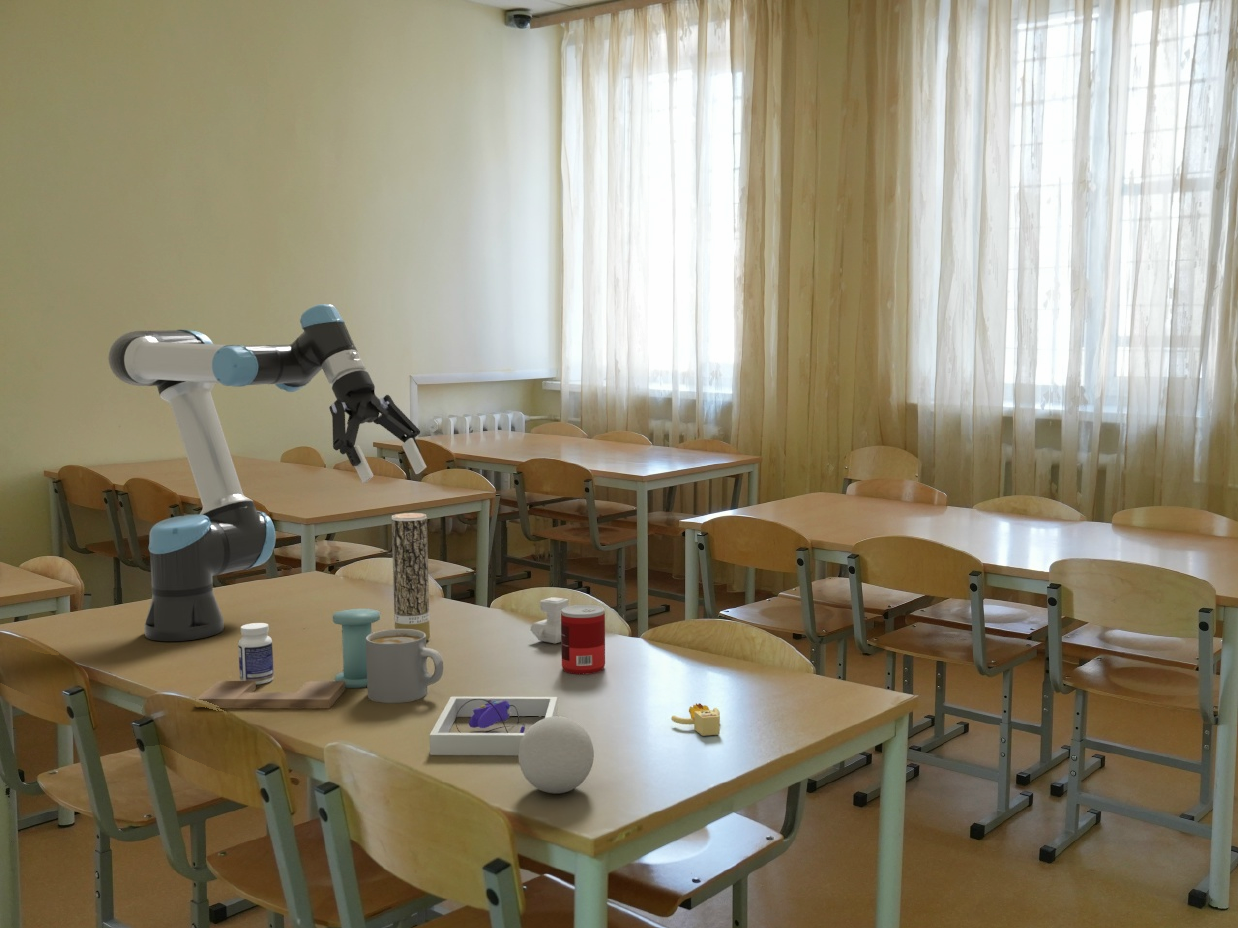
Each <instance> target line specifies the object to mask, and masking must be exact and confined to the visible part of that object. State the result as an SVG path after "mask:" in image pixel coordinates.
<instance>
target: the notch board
mask: <svg viewBox="0 0 1238 928" xmlns="http://www.w3.org/2000/svg"><path fill="white" fill-rule="evenodd" d="M256 686H257V685H256V681H240V680H217V681H216V682H215V683H214V684H212V685H211V686H210V687H209V688H208V689H206V690H205V691H203V692H202V693H201V694H199V696H197V697H196V698H195V700H196V699H199V700H203V701H207V702H209V703H212V704H214V705H217V706H219V707H221V708H220V709H330V708H331V707H333V705H334V704H335V702H336V701H337V700H338V699H339V698H340V697H341V696H342V694H343V693H344V692H345V691H346V688H345V681H335V680H307V681H306V682H305V683H304V684H303V685H302V686H301V687H300V688H299V689H298V690H297V691H296V692H255V691H256V688H257V687H256Z"/></svg>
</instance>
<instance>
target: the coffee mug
mask: <svg viewBox="0 0 1238 928" xmlns="http://www.w3.org/2000/svg"><path fill="white" fill-rule="evenodd" d="M366 658H367V698H368V699H369V700H371V701H373V702H377V703H383V704H399V703H400V704H401V703H408V702H413V701H417V700H420V699H422V698H424V697H425V696H426V695H427V694H428V686H431V685H433V684H436V683H437V682H439V681H440V680H441V678H442V676H443V673H444V661H443V657H442V655H441V654H440V652H439V651H438V650H435V648H434V649H433V648H431V647H428V648H427V641H426V634H425V633H424V632H422V631H418V630H413V629H395V628H392V629H390V628H389V629H383V630H379V631H374V632H372V634H370V635H368V636H367V637H366ZM428 658H430V659H431V660H432V662H433V666H434V672H433V674H430V673H429V670H428V667H427V665H428V664H427V661H428Z"/></svg>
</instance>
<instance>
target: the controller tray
mask: <svg viewBox="0 0 1238 928" xmlns="http://www.w3.org/2000/svg"><path fill="white" fill-rule="evenodd" d="M490 698H492V700H491V702H492V701H501V700H504V701H505V700H506V701H508V703H509V705H514V706H515V707H516V708H515V707H514V706H510V708H511V709H510V710H511V714H509V716H518V715H519V716H545V717H544V718H547V717H553V716H557V715H558V713H559V712H558V697H557V696H450V698H448V699H449V700H448V701H447V702H446V705H445V706H444V708H443V710H442V712H441V714H440V715H439V717H438V720H437V721H436V723H435V725H434V726H433V729H431V732H430V733H429V755H430V756H519V747H520V743H521V740H522V738H523V736H524V734H525V733H526V732H524V733H520V732H508V733H507V732H486V733H483V732H461V733H460V732H450V731H451V729H452V727H453V725H454V723H455V722H456V720H457V718H460V717H461V718H471V717H472V716H473V715H474V712H473V710H474V709H476V708H478V707H481V706H483V705H485V704H486V703H488V702H487V701H484V700H487V699H490ZM473 699H478V700H473ZM479 699H484V700H479ZM470 700H472V701H470ZM468 701H470V702H468ZM466 702H468V703H466ZM465 703H466V704H465ZM464 704H465V705H464ZM463 705H464V706H463ZM461 707H462V708H461ZM460 708H461V709H460ZM459 709H460V710H459ZM516 709H517V711H516ZM458 711H459V712H458ZM457 712H458V714H457ZM517 712H518V714H517ZM456 715H457V717H456Z"/></svg>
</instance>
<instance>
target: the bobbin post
mask: <svg viewBox="0 0 1238 928" xmlns="http://www.w3.org/2000/svg"><path fill="white" fill-rule="evenodd" d="M380 618H381V613H380V611H378V610H377V609H372V608H351V609H344V610H339V611H337V612H334V613H333V614H332V622H333V623H334V624H335V625H341V639H342V640H341V641H342V663H343V664H342V665H343V666H342V667H343V669H342V670H343V671H340V672H339V673H337V674H336V675H335V676H334V681H345V687H346V688H347V689H359V688H361V689H362V688H366V686H367V658H366V637H367V636H368V635H370V634H372V633H373V631H372V624H373V623H377V622H378V621H379V620H381V619H380ZM346 688H345V689H346Z"/></svg>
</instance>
